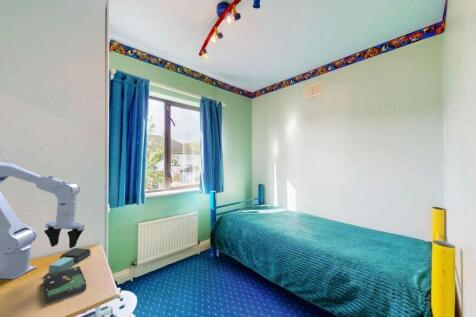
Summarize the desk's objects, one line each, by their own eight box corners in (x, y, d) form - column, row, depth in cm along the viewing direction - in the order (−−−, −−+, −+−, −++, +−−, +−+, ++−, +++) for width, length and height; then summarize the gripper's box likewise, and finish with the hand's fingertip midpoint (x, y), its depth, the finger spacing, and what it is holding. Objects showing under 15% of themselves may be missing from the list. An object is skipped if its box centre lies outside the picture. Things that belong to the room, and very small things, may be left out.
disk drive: (42, 283, 70) (45, 305, 60) (43, 276, 70) (46, 296, 60) (79, 272, 77) (87, 290, 68) (79, 265, 78) (87, 282, 68)
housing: (48, 273, 75) (49, 264, 75) (64, 264, 81) (64, 256, 82) (59, 274, 75) (60, 265, 75) (74, 265, 81) (74, 257, 81)
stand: (59, 261, 83) (60, 254, 83) (73, 253, 90) (74, 247, 90) (77, 262, 83) (77, 256, 83) (90, 254, 90) (90, 249, 90)
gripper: (38, 214, 74) (35, 249, 74) (74, 217, 74) (72, 252, 74) (56, 209, 81) (53, 241, 81) (89, 212, 81) (86, 244, 81)
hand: (63, 246), depth 78 cm, fingers open, 7 cm apart
